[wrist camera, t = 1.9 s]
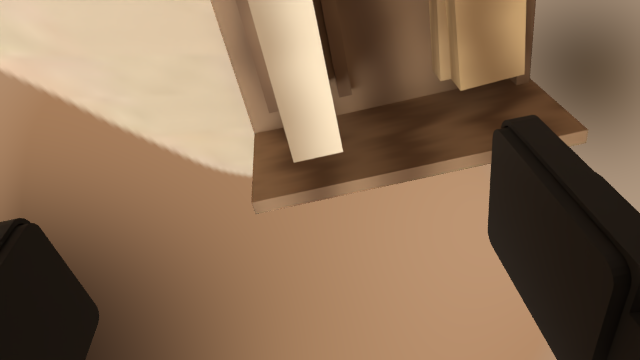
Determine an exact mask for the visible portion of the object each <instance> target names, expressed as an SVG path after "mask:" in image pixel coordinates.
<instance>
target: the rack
mask: <svg viewBox="0 0 640 360" xmlns="http://www.w3.org/2000/svg"><path fill="white" fill-rule="evenodd" d="M312 1H313V6H314V10H315V15H316V20H317V25H318V30H319V35H320V40H321V45H322V50H323V55H324V60H325V65H326V70H327V75H328V80H329V84H330V89H331V94H332V99H333V104H334V109H335V114H336V119H337V124H338V129H339V134H340V139H341V144H342V149H343V152H340V153H336V154H331V155H327V156H322V157H318V158H313V159H308V160H304V161H299V162H295V163H294V162H293V158H292V155H291V151H290V148H289V144H288V140H287V137H286V133H285V130H284V126H283V123H282V119H281V116H280V112H279V109H278V105H277V102H276V98H275V95H274V91H273V88H272V84H271V81H270V77H269V74H268V70H267V66H266V63H265V59H264V56H263V52H262V49H261V45H260V42H259V38H258V35H257V31H256V28H255V24H254V21H253V17H252V14H251V10H250V7H249V3H248V0H211V3H212V6H213V9H214V12H215V15H216V18H217V21H218V24H219V28H220V31H221V34H222V37H223V40H224V43H225V46H226V49H227V52H228V55H229V58H230V61H231V64H232V67H233V70H234V73H235V76H236V79H237V82H238V85H239V88H240V91H241V94H242V97H243V100H244V103H245V106H246V109H247V112H248V115H249V118H250V121H251V124H252V127H253V130H254V133H255V137H254V159H253V181H252V205H253V208H254V211H255V213H256V214H259V213H263V212H268V211H272V210H277V209H282V208H286V207H291V206H296V205H300V204H305V203H310V202H314V201H319V200H323V199H328V198H333V197H338V196H342V195H347V194H352V193H356V192H361V191H365V190H370V189H375V188H379V187H383V186H389V185H393V184H398V183H403V182H407V181H412V180H417V179H421V178H426V177H430V176H435V175H439V174H444V173H449V172H453V171H458V170H462V169H468V168H472V167H477V166H482V165H486V164H491V158H492V138H493V132H494V131H495V130H496V129H501V125H502V123H503V121H505V120H508V119H513V118H518V117H523V116H528V115H536V116H538V117H539V118H540V119H541V120H542V121H543V122H544V123H545V124H546V125H547V126H548V127H549V128H550V129H551V130H552V131H553V132H554V133H555V134H556V135H557V136H558V137H559V138H560V139H561V140H562V141H563V142H564V143H565V144H566V145H568V146H569V147H570V146H574V145H579V144H584V143H586V140H587V134H588V129H587V128H586V127H584V126H583V125H582V124H581V123H580V122H579V121H578V120H577V119H575V118H574V117H573V116H572V115H571V114H570V113H569V112H567V111H566V110H565V109H564V108H563V107H562V106H561V105H559V104H558V103H557V102H556V101H555V100H554V99H553V98H552V97H550V96H549V95H548V94H547V93H546V92H545V91H544V90H542V89H541V88H540V87H539V86H538V85H537V84H536V83H534V82H533V81H532V80H531V79H530V68H531V54H532V41H533V29H534V28H533V27H534V16H535V3H536V0H526V34H525V73H524V74H523V75H520V76H516V77H512V78H508V79H504V80H500V81H497V82H493V83H489V84H485V85H481V86H477V87H474V88H470V89H466V90H462V91H460V89H459V88H458V87H457V86H456V84H455V83H454V82H453V81H452V79H448V80H444V81H440V80H439V78H438V77H437V76H436V74H435V73H434V72H433V67H432V49H431V31H430V14H429V0H312Z"/></svg>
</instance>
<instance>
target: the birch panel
mask: <svg viewBox="0 0 640 360" xmlns="http://www.w3.org/2000/svg"><path fill="white" fill-rule="evenodd" d="M248 3H249V7H250V10H251V14H252V17H253V21H254V24H255V28H256V31H257V35H258V38H259V42H260V45H261V49H262V52H263V56H264V59H265V63H266V66H267V70H268V74H269V77H270V81H271V84H272V88H273V91H274V95H275V98H276V102H277V105H278V109H279V112H280V116H281V119H282V123H283V126H284V130H285V133H286V137H287V140H288V144H289V148H290V151H291V155H292V158H293V162H294V163H295V162H299V161H304V160H308V159H313V158H318V157H322V156H327V155H331V154H336V153H340V152H343V149H342V144H341V139H340V134H339V129H338V124H337V119H336V114H335V109H334V104H333V99H332V94H331V89H330V84H329V80H328V75H327V70H326V65H325V60H324V55H323V50H322V45H321V40H320V35H319V30H318V25H317V20H316V15H315V10H314V6H313V1H312V0H248Z"/></svg>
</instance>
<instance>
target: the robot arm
mask: <svg viewBox="0 0 640 360" xmlns="http://www.w3.org/2000/svg"><path fill="white" fill-rule="evenodd" d="M488 235H489V239H490V242H491V245H492V246H493V248H494V250H495V252H496V254H497V255H498V257H499V259H500V260H501V262H502V264H503V266H504V268H505V269H506V271H507V273H508V274H509V276H510V278H511V280H512V282H513V283H514V285H515V287H516V289H517V290H518V292H519V294H520V295H521V297H522V299H523V301H524V303H525V304H526V306H527V308H528V310H529V311H530V313H531V315H532V317H533V318H534V320H535V322H536V324H537V325H538V327H539V329H540V330H541V332H542V334H543V336H544V338H545V339H546V341H547V343H548V345H549V346H550V348H551V350H552V352H553V353H554V355H555V357H556V359H557V360H640V213H639V212H638V211H637V210H636V209H635V208H634V207H633V206H631V204H630V203H629V202H628V201H626V200H625V199H624V198H623V197H622V196H621V195H620V194H619V193H618V192H617V191H616V190H615V189H614V188H613V187H612V186H611V185H610V184H609V183H608V182H607V181H606V180H605V179H604V178H603V177H601V176H600V175H599V174H597V173H596V172H594V171H593V170H592V169H591V168H590V167H589V166H588V165H587V164H586V163H585V162H584V161H583V160H582V159H581V158H580V157H579V156H578V155H577V154H576V153H575V152H573V150H572V149H571V148H569V146H568V145H566V144H565V143H564V142H563V141H562V140H561V139H560V138H559V137H558V136H557V135H556V134H555V133H554V132H553V131H552V130H551V129H550V128H549V127H548V126H547V125H546V124H545V123H544V122H543V121H542V120H541V119H540V118H539V117H538V116H536V115H528V116H523V117H518V118H513V119H508V120H505V121H503V123H502V125H501V129H496V130H495V131H494V132H493V138H492V158H491V177H490V196H489V217H488ZM98 321H99V311H98V308H97V306H96V305H95V303H94V302H93V300H92V299H91V298H90V296H89V295H88V293H87V292H86V291H85V289H84V288H83V287H82V285H81V284H80V282H79V281H78V279H77V278H76V277H75V275H74V274H73V273H72V271H71V270H70V269H69V267H68V266H67V264H66V263H65V262H64V260H63V259H62V257H61V256H60V255H59V253H58V252H57V251H56V249H55V248H54V246H53V245H52V244H51V242H50V241H49V239H48V238H47V237H46V236H45V234H44V232H43V231H42V230H41V228H40V227H39V226H38V225H36V224H34V223H30V222H29V221H28V220H26V219H22V218H18V219H13V220H8V221H3V222H0V360H85V359H86V356H87V353H88V350H89V347H90V345H91V342H92V339H93V336H94V333H95V331H96V328H97V325H98Z"/></svg>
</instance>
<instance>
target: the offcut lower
mask: <svg viewBox="0 0 640 360" xmlns="http://www.w3.org/2000/svg"><path fill="white" fill-rule="evenodd" d="M429 14H430V31H431V49H432V67H433V72H434V73H435V74H436V76H437V77H438V78H439V80H440V81H444V80H448V79H451V67H450V54H449V41H448V28H447V15H446V2H445V0H429Z"/></svg>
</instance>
